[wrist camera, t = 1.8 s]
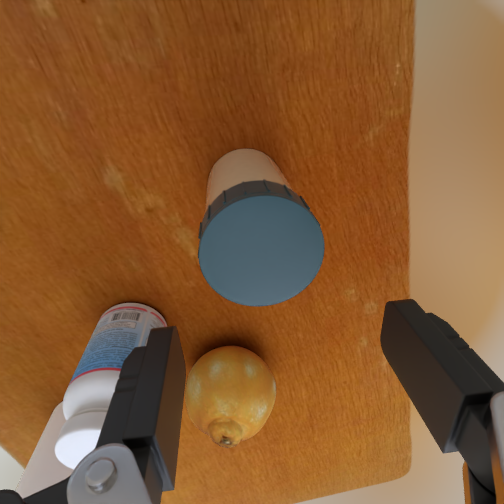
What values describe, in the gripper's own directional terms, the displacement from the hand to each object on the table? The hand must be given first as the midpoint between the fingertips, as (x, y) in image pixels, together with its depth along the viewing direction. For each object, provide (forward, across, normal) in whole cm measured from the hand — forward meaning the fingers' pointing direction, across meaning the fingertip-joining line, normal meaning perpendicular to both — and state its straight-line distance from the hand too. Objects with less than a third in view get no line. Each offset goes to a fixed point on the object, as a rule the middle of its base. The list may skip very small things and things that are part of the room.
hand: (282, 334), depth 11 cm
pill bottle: (+16, +11, +12) cm, 23 cm away
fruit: (+16, +3, +18) cm, 24 cm away
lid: (+6, 0, 0) cm, 6 cm away
